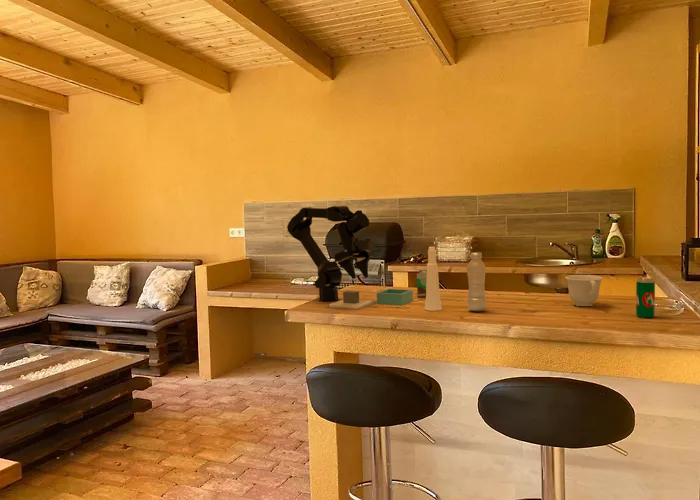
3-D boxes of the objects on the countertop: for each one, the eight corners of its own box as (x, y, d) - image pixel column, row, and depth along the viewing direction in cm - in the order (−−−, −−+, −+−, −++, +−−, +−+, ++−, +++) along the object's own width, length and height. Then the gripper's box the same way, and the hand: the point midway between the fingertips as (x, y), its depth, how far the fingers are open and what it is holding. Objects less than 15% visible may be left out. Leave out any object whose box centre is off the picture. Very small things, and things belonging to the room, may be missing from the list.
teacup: (576, 311, 175) (576, 281, 174) (559, 302, 190) (559, 275, 189) (613, 310, 175) (613, 280, 174) (593, 302, 190) (594, 274, 189)
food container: (433, 298, 206) (432, 273, 206) (417, 298, 208) (416, 273, 207) (434, 293, 218) (434, 269, 218) (419, 293, 220) (418, 269, 219)
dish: (377, 306, 195) (376, 292, 194) (388, 301, 204) (388, 288, 203) (402, 308, 190) (401, 294, 190) (412, 303, 199) (412, 290, 198)
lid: (328, 306, 192) (328, 293, 192) (345, 300, 203) (344, 288, 202) (357, 308, 186) (357, 295, 186) (373, 302, 197) (373, 290, 196)
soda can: (637, 314, 167) (638, 276, 166) (655, 316, 164) (656, 277, 163) (634, 317, 164) (634, 278, 163) (652, 319, 160) (653, 280, 159)
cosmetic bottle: (431, 306, 191) (430, 245, 189) (445, 308, 186) (444, 246, 184) (421, 309, 186) (419, 247, 184) (435, 311, 182) (433, 247, 180)
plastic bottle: (473, 313, 177) (472, 254, 175) (463, 310, 183) (462, 252, 181) (490, 312, 178) (489, 252, 177) (480, 308, 185) (479, 251, 183)
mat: (325, 309, 192) (325, 307, 192) (344, 302, 204) (344, 300, 204) (359, 312, 185) (359, 309, 185) (377, 305, 197) (377, 302, 197)
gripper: (352, 228, 183) (366, 270, 180) (377, 230, 199) (390, 270, 196) (327, 240, 188) (340, 281, 185) (353, 241, 204) (365, 280, 201)
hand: (360, 278), depth 192 cm, fingers open, 9 cm apart
